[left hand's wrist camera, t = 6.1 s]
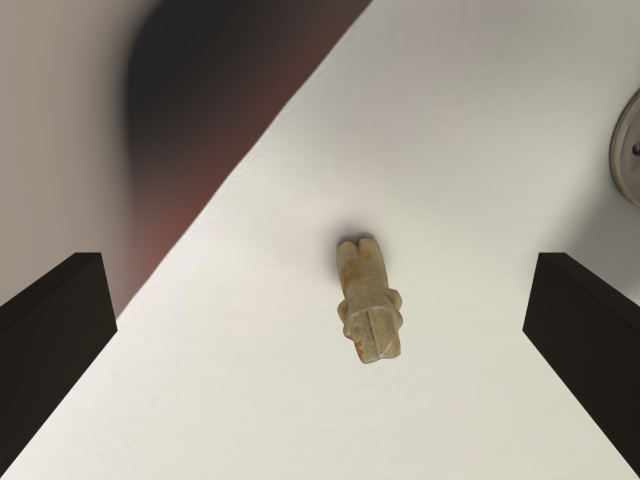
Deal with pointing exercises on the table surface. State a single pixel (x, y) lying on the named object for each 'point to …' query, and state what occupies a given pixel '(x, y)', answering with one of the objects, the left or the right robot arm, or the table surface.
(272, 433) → the table surface
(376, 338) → the sculpture
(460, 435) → the table surface
